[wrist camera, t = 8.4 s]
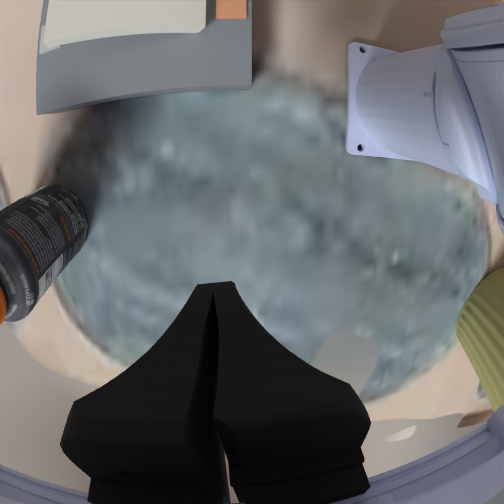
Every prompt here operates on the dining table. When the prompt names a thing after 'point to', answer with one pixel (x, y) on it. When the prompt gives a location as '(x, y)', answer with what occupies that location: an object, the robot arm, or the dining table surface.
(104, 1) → the rocker
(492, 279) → the potted cactus
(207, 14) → the switch base
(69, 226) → the pill bottle
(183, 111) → the dining table surface
